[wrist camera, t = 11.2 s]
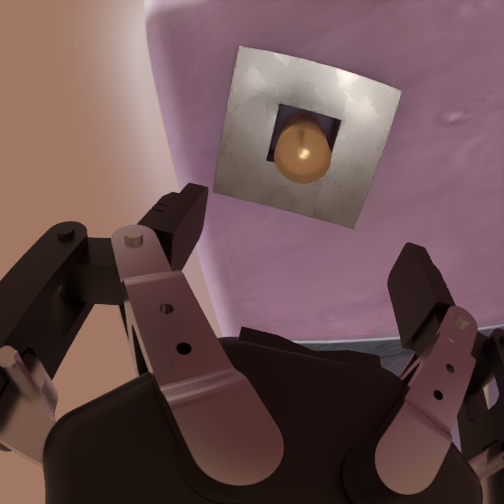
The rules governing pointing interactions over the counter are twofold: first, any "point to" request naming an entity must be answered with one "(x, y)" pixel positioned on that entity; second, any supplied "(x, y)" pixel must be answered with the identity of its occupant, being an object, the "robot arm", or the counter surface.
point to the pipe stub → (302, 149)
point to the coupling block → (313, 99)
